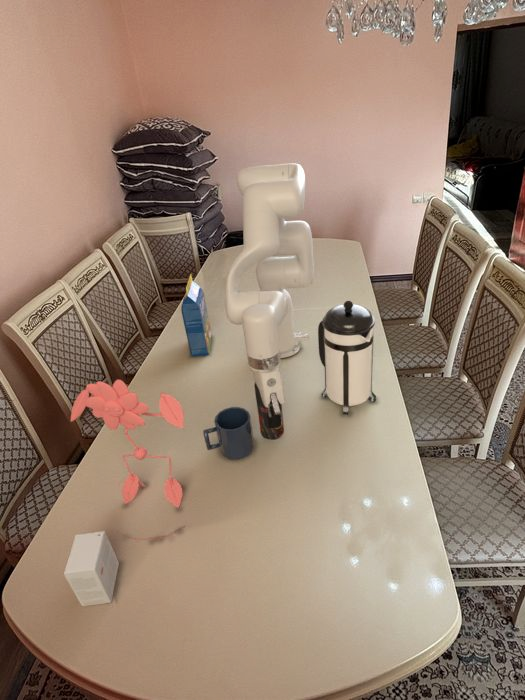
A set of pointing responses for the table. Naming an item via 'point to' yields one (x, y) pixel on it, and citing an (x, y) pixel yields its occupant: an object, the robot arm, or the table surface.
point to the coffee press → (347, 354)
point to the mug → (232, 433)
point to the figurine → (130, 426)
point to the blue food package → (196, 320)
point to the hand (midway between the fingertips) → (270, 417)
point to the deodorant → (263, 420)
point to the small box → (92, 568)
